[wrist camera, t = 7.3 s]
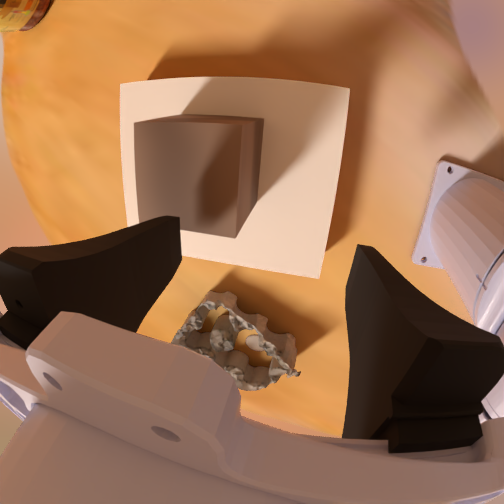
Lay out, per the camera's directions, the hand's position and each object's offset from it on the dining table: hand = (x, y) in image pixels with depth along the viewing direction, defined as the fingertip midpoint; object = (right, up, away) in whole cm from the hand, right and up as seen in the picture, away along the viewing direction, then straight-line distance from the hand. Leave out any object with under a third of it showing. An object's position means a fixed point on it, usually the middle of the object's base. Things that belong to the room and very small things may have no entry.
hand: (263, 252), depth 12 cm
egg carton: (-1, -8, +16) cm, 18 cm away
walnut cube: (-2, +6, +5) cm, 8 cm away
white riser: (-2, +6, +8) cm, 10 cm away
